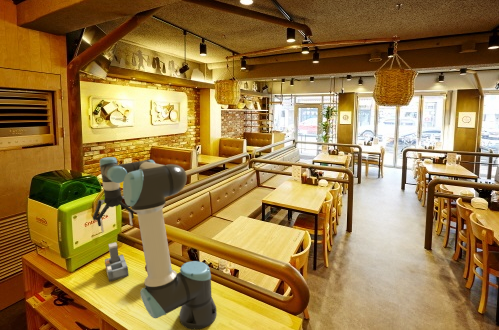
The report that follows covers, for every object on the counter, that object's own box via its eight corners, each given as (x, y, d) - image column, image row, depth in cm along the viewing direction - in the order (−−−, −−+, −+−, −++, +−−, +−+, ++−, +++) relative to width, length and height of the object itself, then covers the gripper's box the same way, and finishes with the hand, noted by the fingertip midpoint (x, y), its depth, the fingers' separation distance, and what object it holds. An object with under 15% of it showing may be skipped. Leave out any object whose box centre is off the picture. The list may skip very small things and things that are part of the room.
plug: (120, 267, 151) (117, 245, 148) (112, 269, 149) (109, 247, 146) (119, 264, 154) (116, 242, 151) (111, 266, 152) (108, 244, 149)
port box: (128, 275, 146) (127, 266, 144) (108, 281, 141) (107, 272, 140) (123, 262, 157) (122, 253, 156) (105, 267, 152) (104, 259, 151)
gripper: (136, 182, 151) (140, 219, 156) (82, 191, 138) (89, 231, 142) (139, 185, 145) (144, 224, 150) (83, 195, 131) (90, 237, 136)
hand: (117, 227), depth 146 cm, fingers open, 13 cm apart
